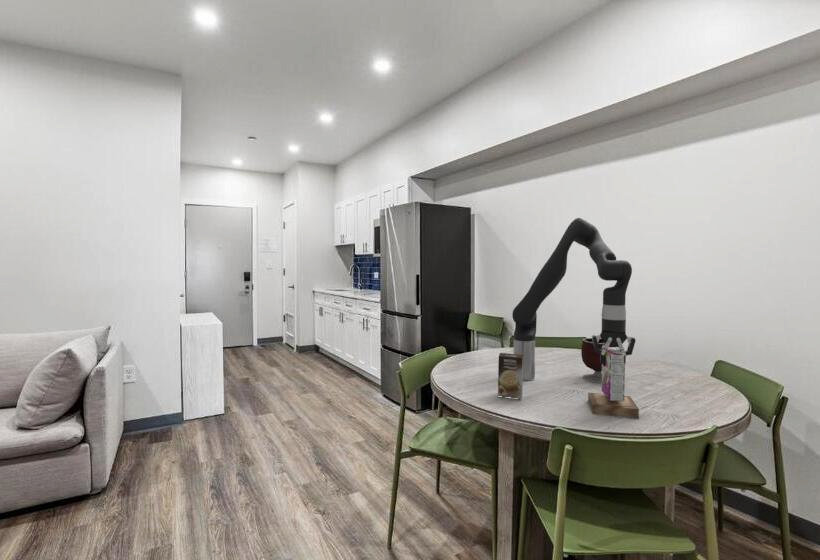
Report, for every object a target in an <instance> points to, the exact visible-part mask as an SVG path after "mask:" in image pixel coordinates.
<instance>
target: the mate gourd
mask: <svg viewBox="0 0 820 560" xmlns="http://www.w3.org/2000/svg"><path fill="white" fill-rule="evenodd" d="M597 343H598V347H599V349H600V350H601V349H602V346H603V344H604V342H603V340H602V339H601V338H600V339H599V341H598V342H597ZM613 347H614V346H613ZM615 348H617V347H615ZM580 349H581V351H580V354H581V359H582V362H583V364H584V365H585V367H586V368H588V369H591V370H593V371H594V372H593V373H587V374H583V376H582V379H583V378H584V379H583V380H585V381H587V380H588V381H587V382H590V383H591V382H592V383H596V384H597V383H598V384H602V364H601V362H600V354H599V353H596V352H595V349H594V344H593V340H592V337H588V338H583V339H582V343H581V348H580Z"/></svg>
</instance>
